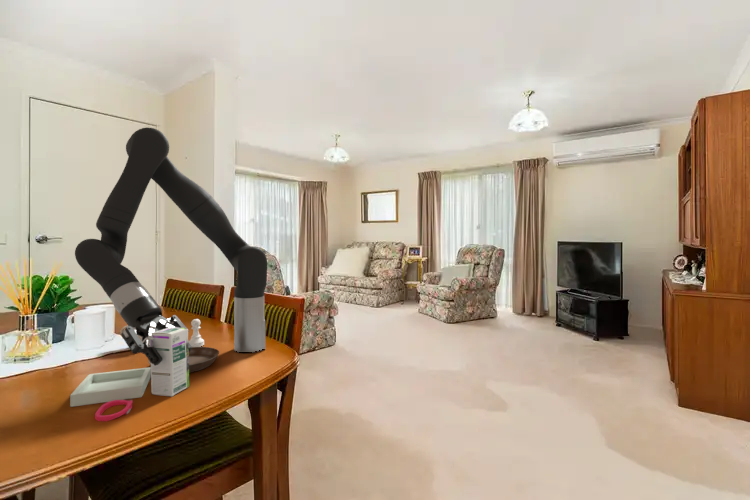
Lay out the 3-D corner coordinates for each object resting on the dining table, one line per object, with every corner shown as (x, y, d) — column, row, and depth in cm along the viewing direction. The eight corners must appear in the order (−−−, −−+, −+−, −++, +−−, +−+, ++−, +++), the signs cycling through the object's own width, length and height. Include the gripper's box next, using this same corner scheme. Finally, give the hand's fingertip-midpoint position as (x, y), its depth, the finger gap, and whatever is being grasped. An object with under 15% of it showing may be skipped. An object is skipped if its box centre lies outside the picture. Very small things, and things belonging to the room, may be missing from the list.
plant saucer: (132, 372, 99) (132, 361, 99) (187, 353, 116) (186, 343, 116) (183, 382, 93) (183, 370, 93) (232, 360, 110) (232, 350, 110)
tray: (150, 376, 96) (150, 367, 96) (142, 396, 84) (141, 386, 84) (89, 384, 90) (89, 374, 90) (70, 406, 79) (70, 395, 78)
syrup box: (172, 397, 84) (171, 333, 83) (150, 394, 85) (149, 331, 85) (189, 387, 90) (189, 327, 89) (168, 384, 91) (168, 326, 90)
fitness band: (125, 420, 74) (125, 412, 74) (90, 425, 72) (90, 417, 72) (135, 402, 82) (135, 395, 82) (104, 406, 80) (104, 399, 79)
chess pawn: (184, 346, 123) (184, 319, 122) (200, 342, 126) (200, 316, 126) (191, 349, 119) (191, 321, 119) (207, 345, 123) (206, 319, 123)
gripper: (116, 299, 82) (157, 356, 79) (169, 290, 95) (206, 338, 93) (98, 321, 83) (138, 377, 81) (152, 309, 97) (188, 357, 94)
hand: (174, 357), depth 87 cm, fingers open, 8 cm apart
